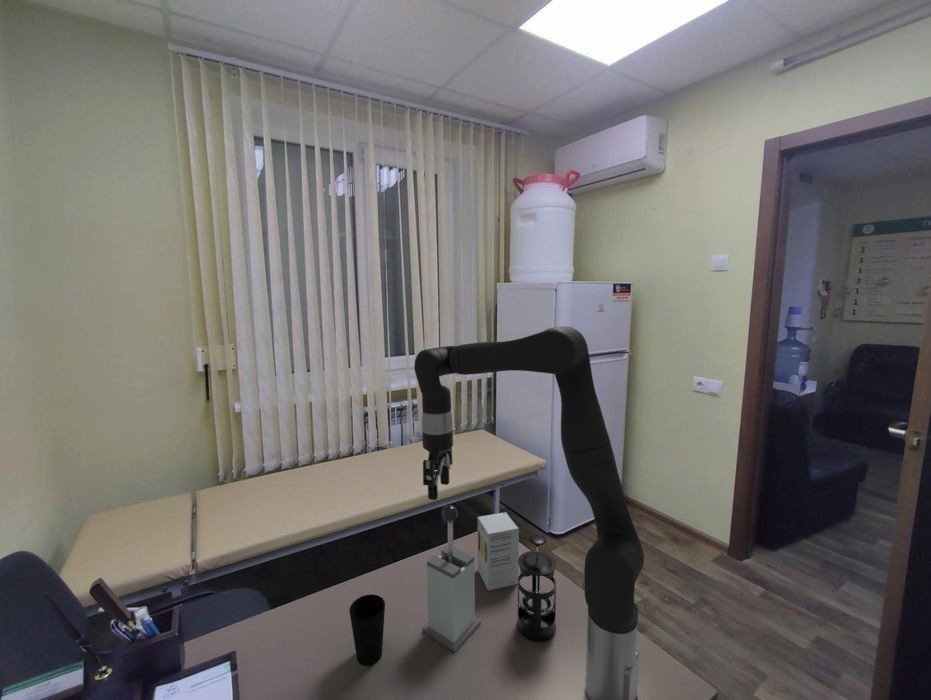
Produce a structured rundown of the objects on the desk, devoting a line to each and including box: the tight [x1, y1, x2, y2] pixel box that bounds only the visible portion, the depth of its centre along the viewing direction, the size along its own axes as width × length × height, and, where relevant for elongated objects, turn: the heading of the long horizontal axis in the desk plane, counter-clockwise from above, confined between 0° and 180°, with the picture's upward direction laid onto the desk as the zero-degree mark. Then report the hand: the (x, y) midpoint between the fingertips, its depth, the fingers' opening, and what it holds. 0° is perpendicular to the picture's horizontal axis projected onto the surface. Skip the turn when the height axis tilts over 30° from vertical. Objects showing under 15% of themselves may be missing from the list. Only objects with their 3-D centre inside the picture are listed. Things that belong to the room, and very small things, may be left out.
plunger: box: [441, 504, 464, 568], centre depth 97 cm, size 6×6×17 cm
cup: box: [349, 593, 386, 667], centre depth 91 cm, size 8×8×12 cm
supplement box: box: [477, 511, 520, 591], centre depth 116 cm, size 10×9×17 cm
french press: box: [516, 534, 557, 643], centre depth 99 cm, size 12×9×23 cm
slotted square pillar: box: [422, 545, 482, 653], centre depth 98 cm, size 10×10×18 cm
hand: (439, 491), depth 103 cm, fingers open, 8 cm apart
